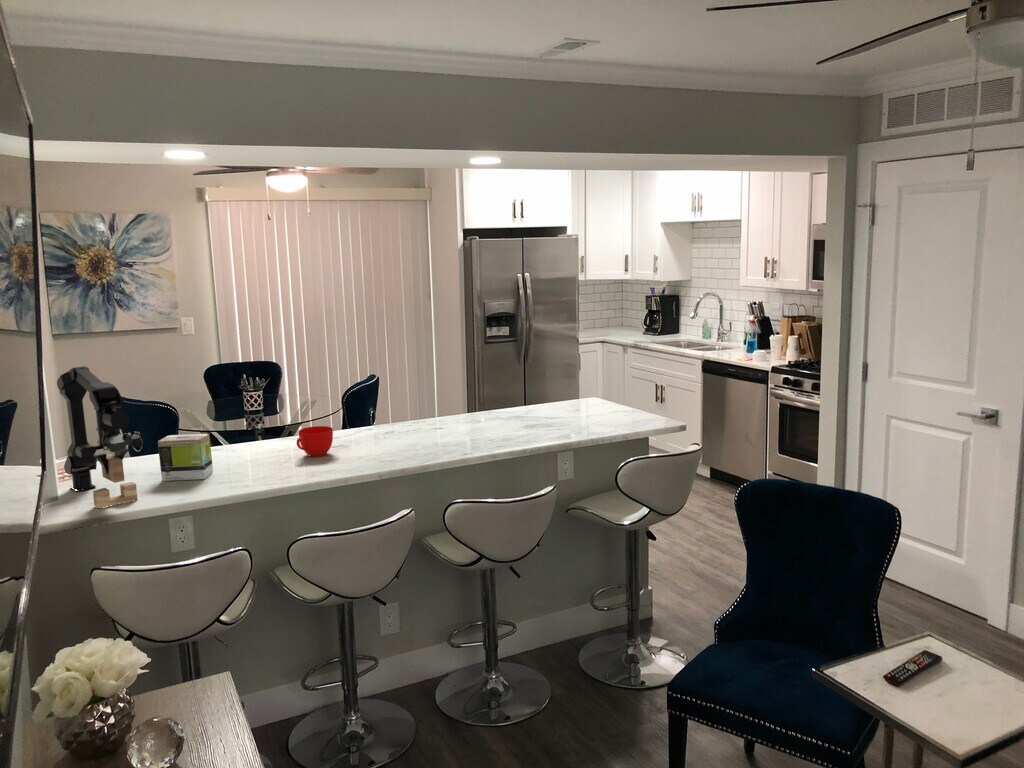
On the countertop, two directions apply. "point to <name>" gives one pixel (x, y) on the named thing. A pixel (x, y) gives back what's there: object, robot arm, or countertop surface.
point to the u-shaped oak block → (104, 498)
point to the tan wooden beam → (114, 469)
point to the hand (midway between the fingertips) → (112, 472)
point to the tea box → (185, 457)
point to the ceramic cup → (315, 440)
